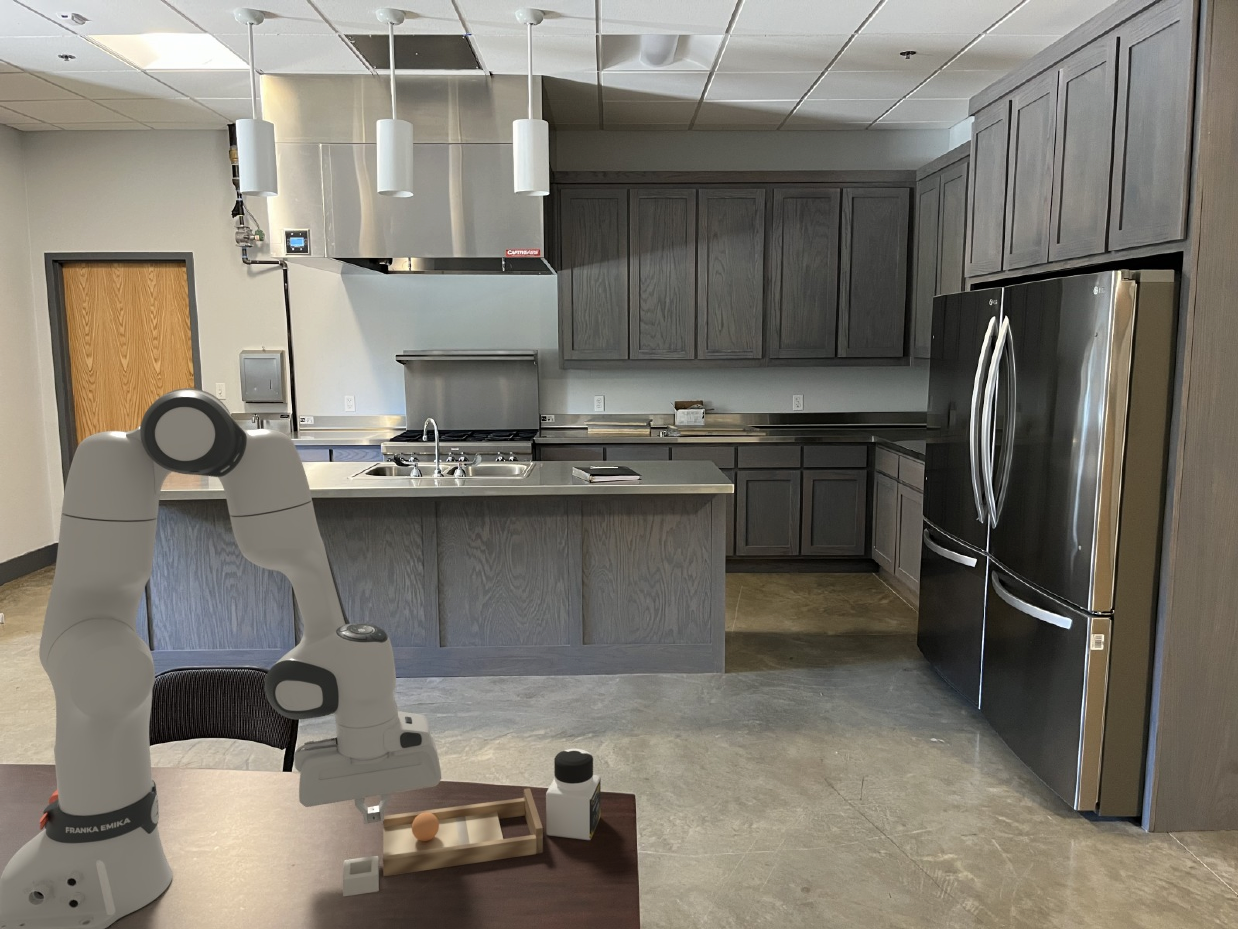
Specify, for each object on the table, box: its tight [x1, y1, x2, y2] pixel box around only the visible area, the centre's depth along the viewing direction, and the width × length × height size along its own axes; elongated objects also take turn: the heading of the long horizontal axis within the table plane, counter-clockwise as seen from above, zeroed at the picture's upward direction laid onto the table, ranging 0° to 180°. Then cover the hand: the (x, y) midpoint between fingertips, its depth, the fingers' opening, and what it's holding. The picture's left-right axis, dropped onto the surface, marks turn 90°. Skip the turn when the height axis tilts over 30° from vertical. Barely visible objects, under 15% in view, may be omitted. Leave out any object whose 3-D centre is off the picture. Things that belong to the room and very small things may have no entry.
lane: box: [382, 787, 544, 877], centre depth 133 cm, size 23×12×4 cm, turn 105°
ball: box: [412, 812, 439, 841], centre depth 131 cm, size 4×4×4 cm
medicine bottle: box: [545, 748, 602, 841], centre depth 137 cm, size 7×7×12 cm
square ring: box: [342, 855, 380, 898], centre depth 122 cm, size 5×5×2 cm
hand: (374, 820), depth 130 cm, fingers closed
